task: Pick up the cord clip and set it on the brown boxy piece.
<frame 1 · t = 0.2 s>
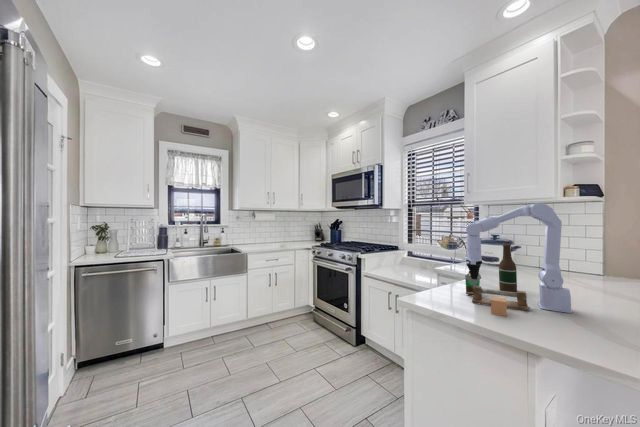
hand: (474, 277, 121), 10 cm above the counter, tool pointing down, fingers open, 7 cm apart
beer bottle: (508, 291, 132), on the counter
cord clip: (499, 312, 103), on the counter
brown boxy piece: (498, 304, 113), on the counter
food container: (474, 293, 129), on the counter
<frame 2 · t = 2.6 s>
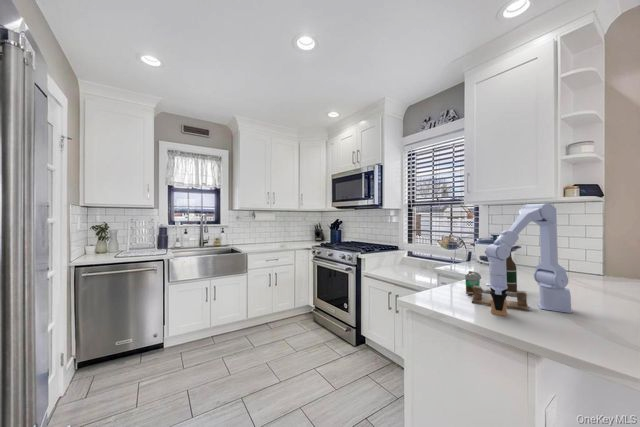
hand: (498, 308, 103), 2 cm above the counter, tool pointing down, fingers closed on cord clip, 5 cm apart
cord clip: (499, 312, 103), on the counter, touching gripper
everything else where it was.
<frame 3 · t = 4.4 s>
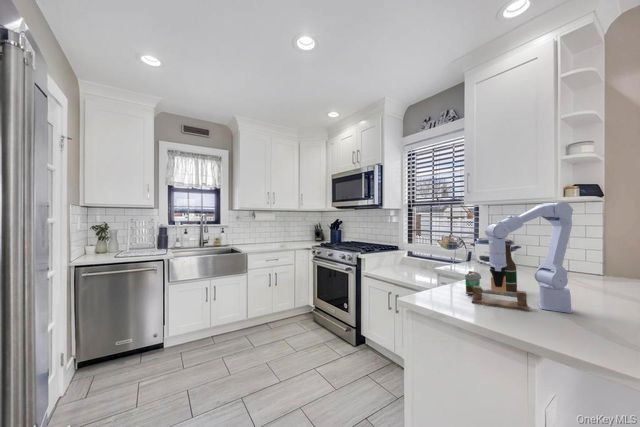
hand: (498, 285, 108), 10 cm above the counter, tool pointing down, fingers closed on cord clip, 5 cm apart
cord clip: (498, 289, 108), point 8 cm above the counter, touching gripper
everything else where it was.
when the fingers open (5 cm above the counter, at t = 6.3 s): cord clip drops 1 cm, resting on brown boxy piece.
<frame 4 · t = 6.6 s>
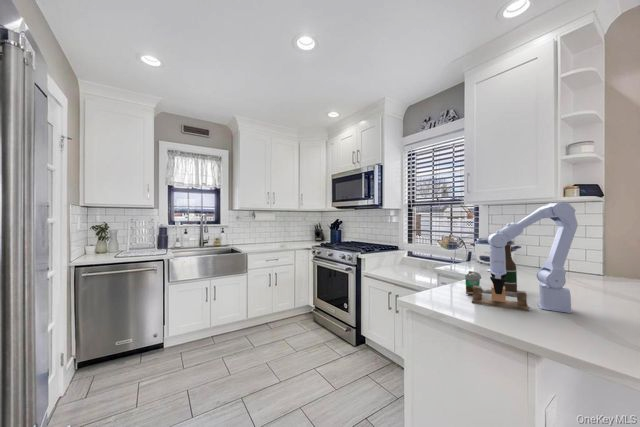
hand: (498, 291, 113), 5 cm above the counter, tool pointing down, fingers open, 7 cm apart
cord clip: (498, 299, 113), point 2 cm above the counter, touching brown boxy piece
everything else where it was.
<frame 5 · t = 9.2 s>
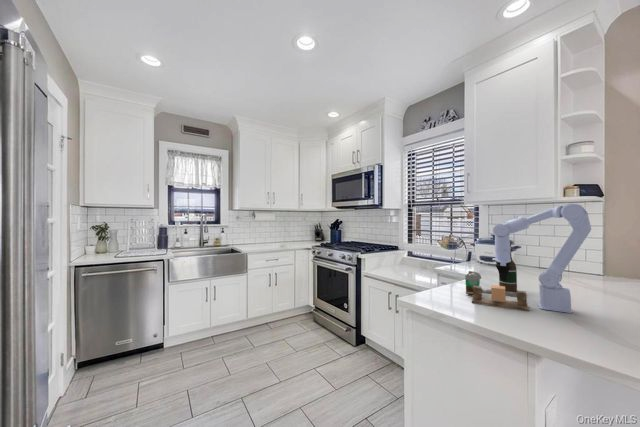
hand: (503, 278, 120), 9 cm above the counter, tool pointing down, fingers open, 7 cm apart
nothing on the counter moved.
at the end: cord clip inside the target area on the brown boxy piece (0.1 cm from its centre), point 2.0 cm above the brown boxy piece's base; the gripper is holding nothing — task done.
